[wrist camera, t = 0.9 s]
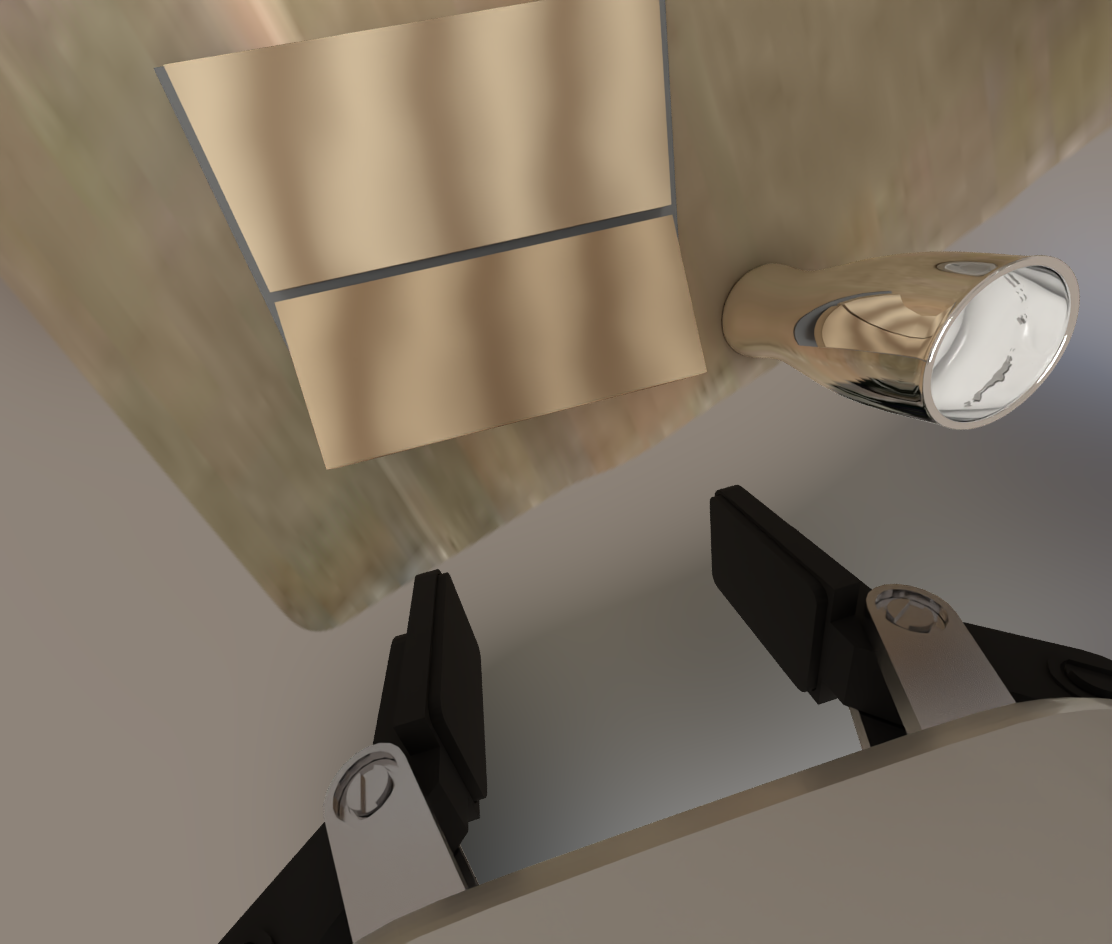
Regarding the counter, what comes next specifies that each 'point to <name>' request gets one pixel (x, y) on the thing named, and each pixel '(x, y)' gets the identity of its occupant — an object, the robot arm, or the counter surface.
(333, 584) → the counter surface
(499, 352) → the loose plank
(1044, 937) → the robot arm
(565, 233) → the underlay mat
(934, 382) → the beer glass
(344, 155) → the board
